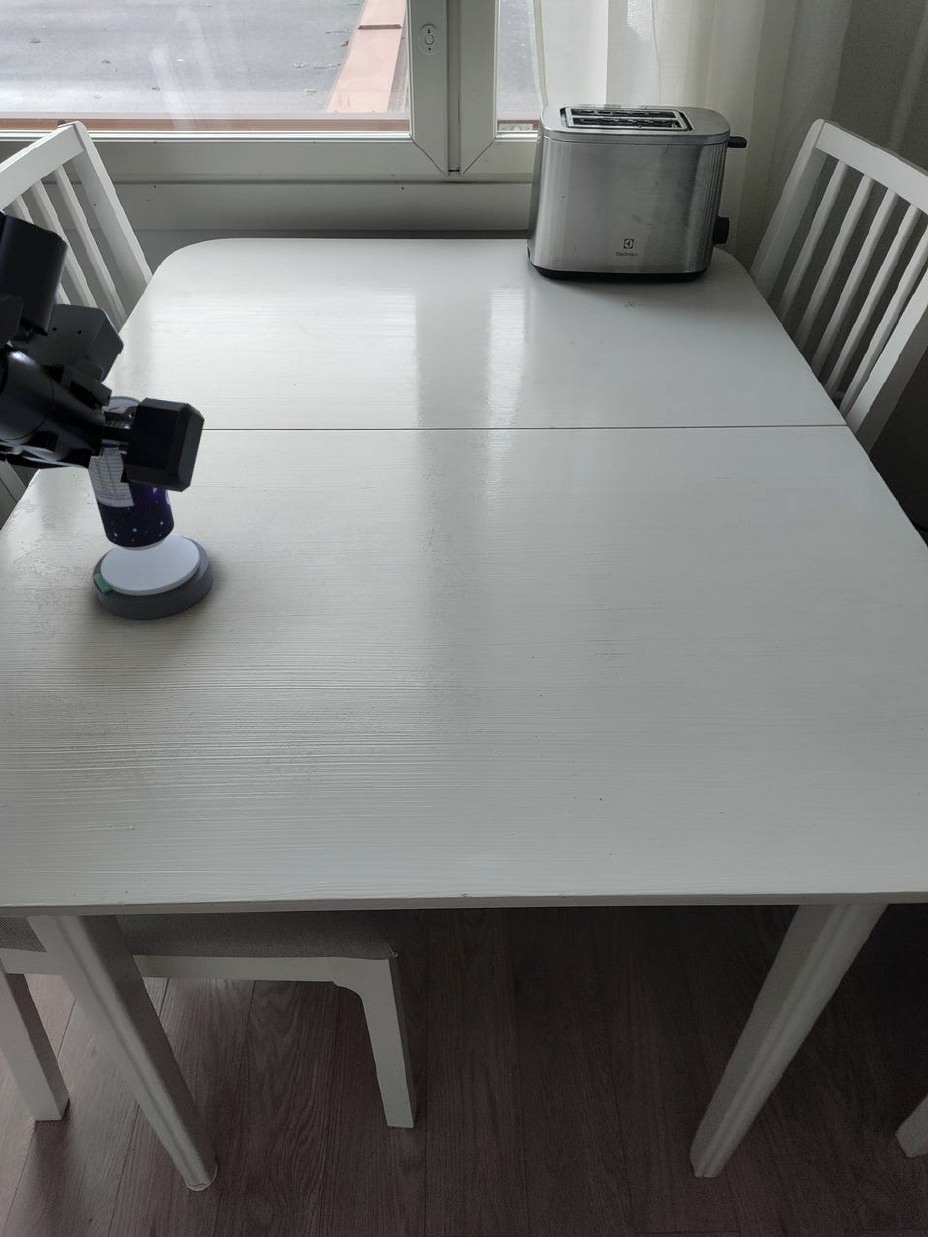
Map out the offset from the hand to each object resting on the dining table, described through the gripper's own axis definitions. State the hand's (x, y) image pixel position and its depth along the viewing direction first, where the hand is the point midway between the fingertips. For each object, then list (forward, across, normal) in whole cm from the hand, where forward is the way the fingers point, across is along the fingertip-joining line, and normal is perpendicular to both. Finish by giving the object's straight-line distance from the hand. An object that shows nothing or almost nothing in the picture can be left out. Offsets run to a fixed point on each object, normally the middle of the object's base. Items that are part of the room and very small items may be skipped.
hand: (134, 462), depth 79 cm
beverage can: (+4, 0, +6) cm, 7 cm away
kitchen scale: (+8, 0, +9) cm, 12 cm away
